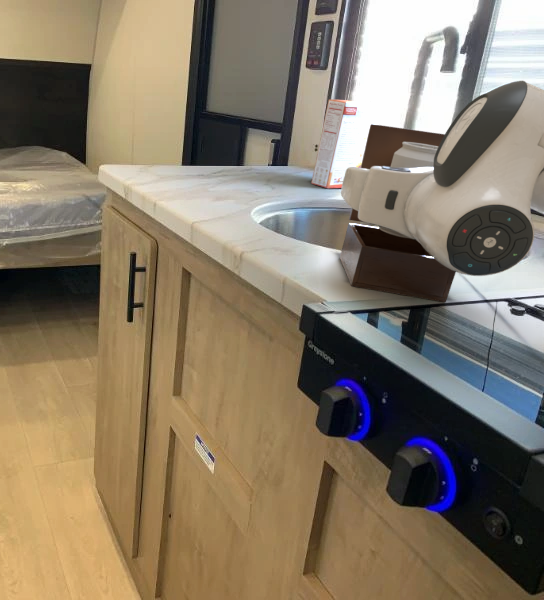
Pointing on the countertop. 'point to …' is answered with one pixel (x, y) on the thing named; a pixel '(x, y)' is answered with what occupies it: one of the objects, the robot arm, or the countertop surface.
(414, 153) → the can
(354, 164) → the cracker box
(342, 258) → the chest
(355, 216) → the lid
